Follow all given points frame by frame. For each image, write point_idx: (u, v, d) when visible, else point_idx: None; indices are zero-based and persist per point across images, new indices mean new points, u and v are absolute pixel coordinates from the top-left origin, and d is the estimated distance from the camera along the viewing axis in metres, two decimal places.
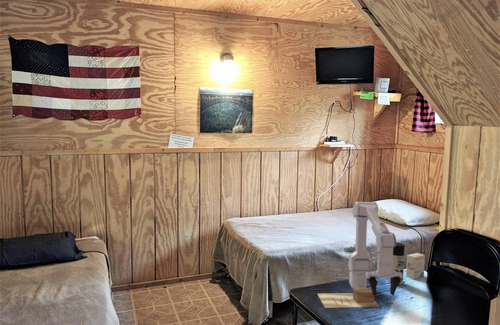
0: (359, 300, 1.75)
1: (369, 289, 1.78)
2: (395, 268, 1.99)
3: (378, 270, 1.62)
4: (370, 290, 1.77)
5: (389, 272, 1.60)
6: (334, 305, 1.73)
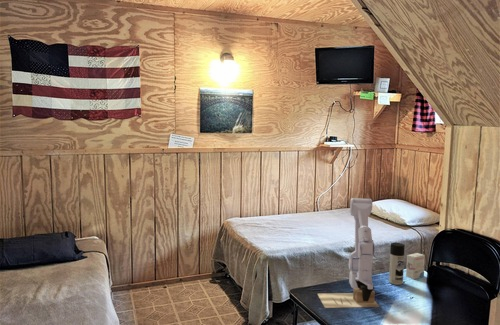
0: (359, 300, 1.75)
1: None
2: (395, 268, 1.99)
3: None
4: None
5: (359, 276, 1.75)
6: (334, 305, 1.73)
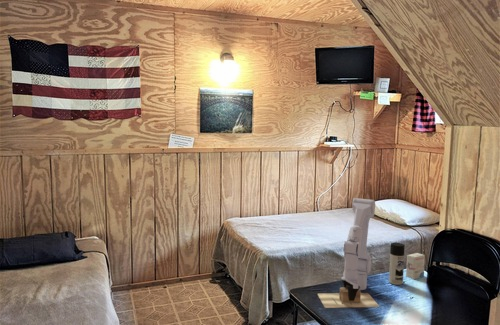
0: (345, 300, 1.74)
1: None
2: (395, 268, 1.99)
3: None
4: None
5: (345, 276, 1.75)
6: (334, 305, 1.73)
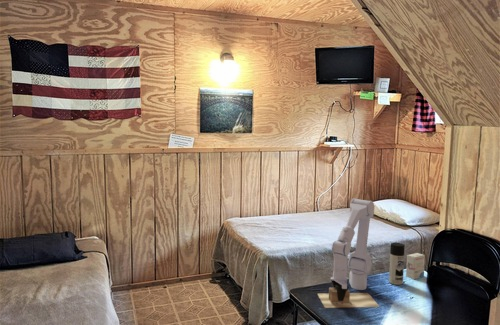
0: (334, 300, 1.74)
1: None
2: (395, 268, 1.99)
3: None
4: None
5: (334, 276, 1.74)
6: (334, 305, 1.73)
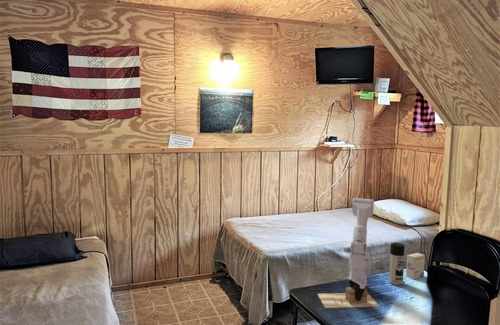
0: (351, 299, 1.75)
1: None
2: (395, 268, 1.99)
3: None
4: None
5: (352, 276, 1.75)
6: (334, 305, 1.73)
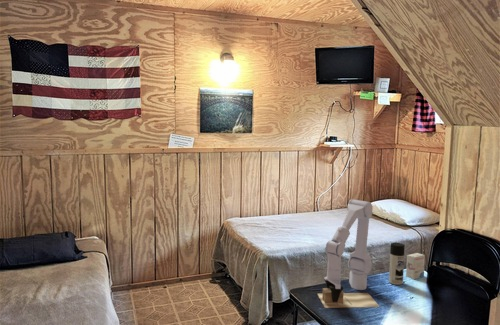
0: (328, 300, 1.74)
1: None
2: (395, 268, 1.99)
3: None
4: None
5: (328, 276, 1.74)
6: (334, 305, 1.73)
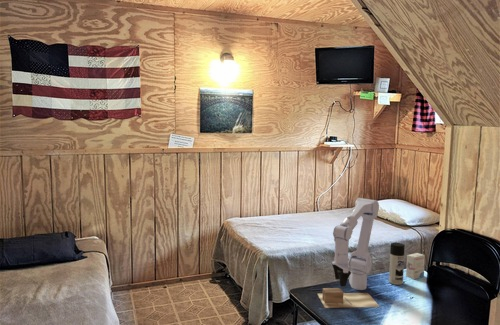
0: (328, 300, 1.74)
1: (338, 289, 1.77)
2: (395, 268, 1.99)
3: None
4: (339, 290, 1.76)
5: (336, 260, 1.75)
6: (334, 305, 1.73)
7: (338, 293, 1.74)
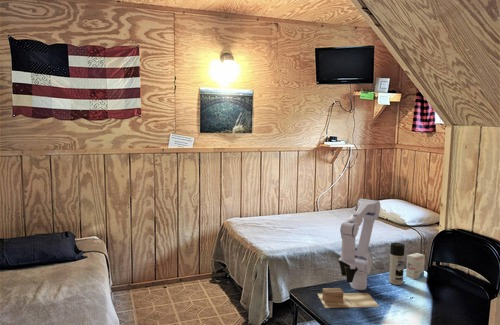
0: (328, 300, 1.74)
1: (338, 289, 1.77)
2: (395, 268, 1.99)
3: None
4: (339, 290, 1.76)
5: (342, 257, 1.77)
6: (334, 305, 1.73)
7: (338, 293, 1.74)
